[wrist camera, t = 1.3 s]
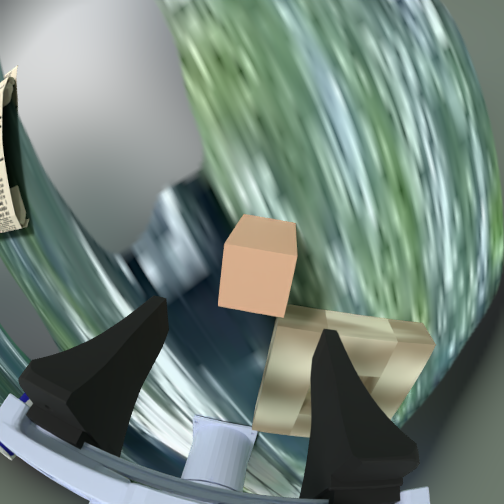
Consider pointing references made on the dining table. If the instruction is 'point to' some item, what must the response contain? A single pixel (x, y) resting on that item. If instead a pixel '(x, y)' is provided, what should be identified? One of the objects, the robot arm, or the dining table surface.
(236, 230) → the peg
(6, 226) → the newspaper
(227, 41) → the dining table surface
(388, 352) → the socket block
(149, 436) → the dining table surface
